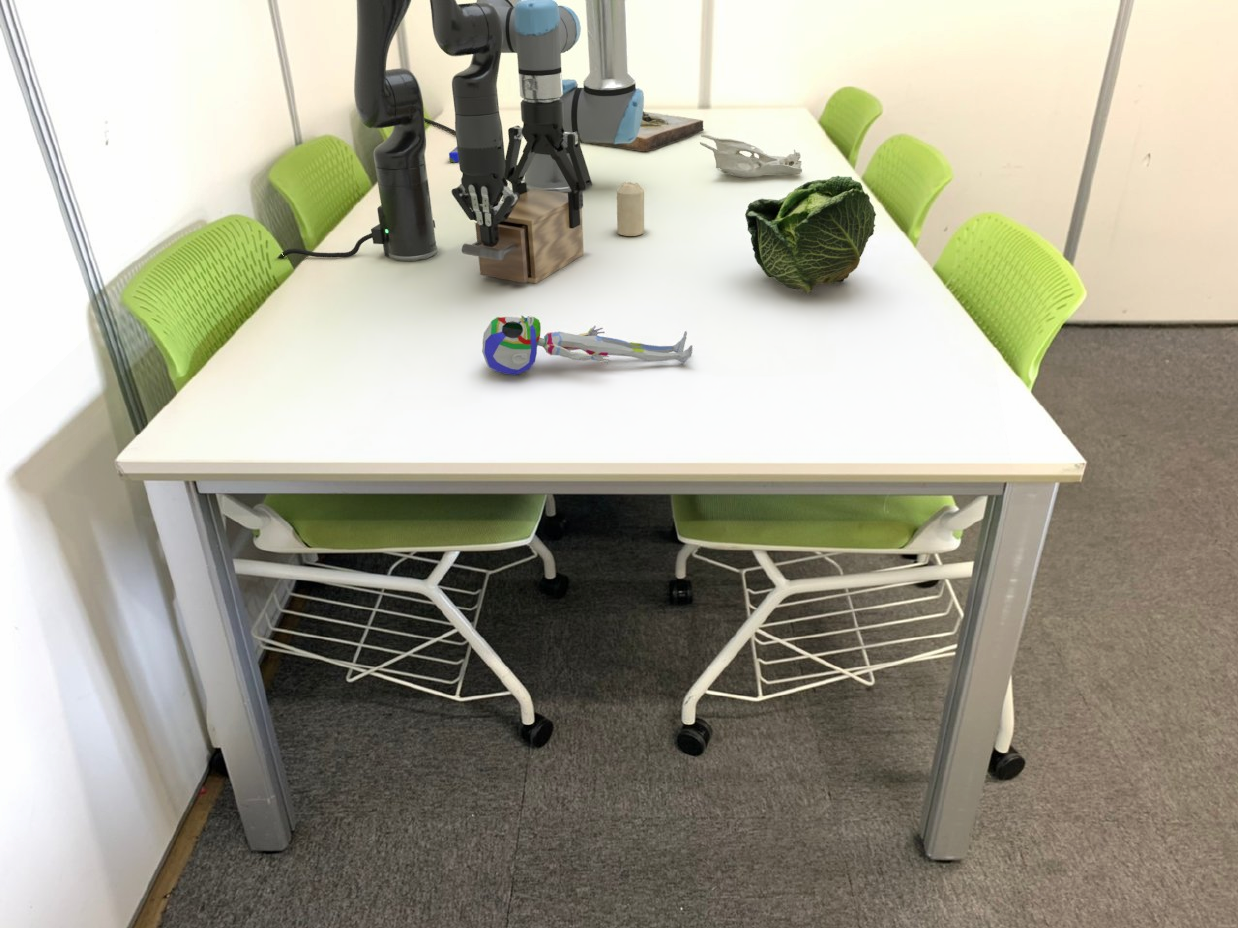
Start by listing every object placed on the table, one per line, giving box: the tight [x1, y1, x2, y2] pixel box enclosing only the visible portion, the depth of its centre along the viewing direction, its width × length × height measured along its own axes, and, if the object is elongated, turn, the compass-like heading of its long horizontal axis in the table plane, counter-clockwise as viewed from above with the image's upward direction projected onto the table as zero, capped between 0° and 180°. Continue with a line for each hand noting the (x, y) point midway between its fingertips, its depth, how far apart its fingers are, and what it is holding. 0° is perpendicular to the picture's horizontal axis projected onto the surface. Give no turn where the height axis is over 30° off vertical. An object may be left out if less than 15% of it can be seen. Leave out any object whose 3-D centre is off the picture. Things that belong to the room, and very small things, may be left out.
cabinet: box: [500, 189, 585, 284], centre depth 166 cm, size 17×11×11 cm, turn 152°
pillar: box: [448, 146, 459, 163], centre depth 243 cm, size 2×2×20 cm
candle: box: [616, 181, 645, 237], centre depth 181 cm, size 6×6×10 cm
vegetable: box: [744, 175, 877, 294], centre depth 154 cm, size 20×19×20 cm
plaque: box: [584, 110, 705, 152], centre depth 257 cm, size 30×7×30 cm
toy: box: [481, 315, 694, 376], centre depth 131 cm, size 10×8×30 cm
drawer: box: [461, 221, 531, 284], centre depth 162 cm, size 22×10×10 cm, turn 152°
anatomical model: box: [699, 133, 803, 178], centre depth 218 cm, size 15×9×25 cm
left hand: (490, 245), depth 155 cm, fingers closed
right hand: (548, 222), depth 170 cm, fingers closed on cabinet, 11 cm apart
